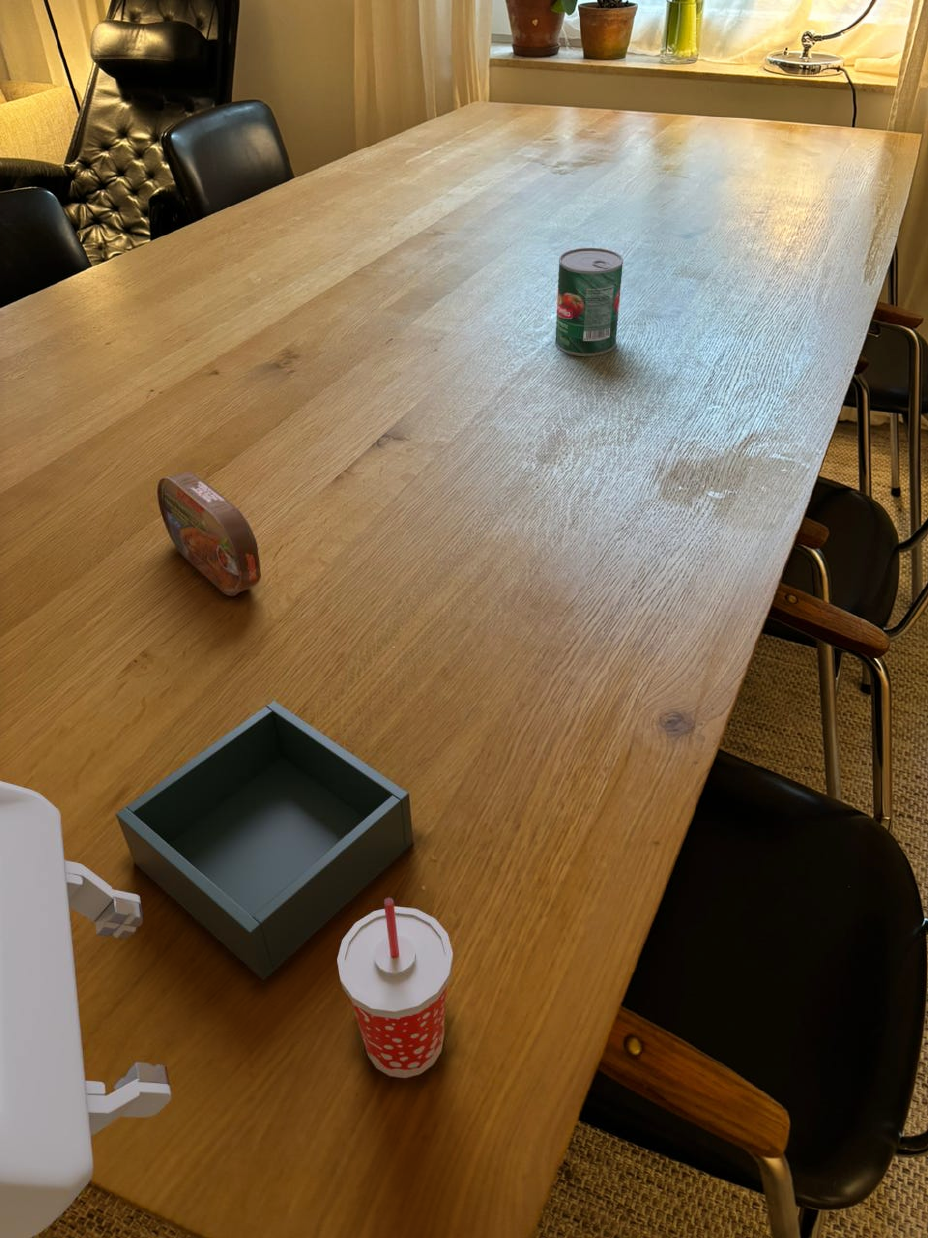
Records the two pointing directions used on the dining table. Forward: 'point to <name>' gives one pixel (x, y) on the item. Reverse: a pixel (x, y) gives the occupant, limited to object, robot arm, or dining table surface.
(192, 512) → the tin
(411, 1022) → the beverage cup
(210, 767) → the bin
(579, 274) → the canned tomato
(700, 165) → the dining table surface
